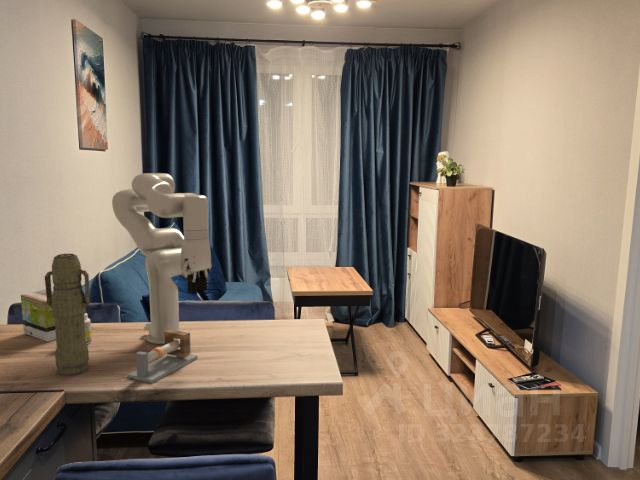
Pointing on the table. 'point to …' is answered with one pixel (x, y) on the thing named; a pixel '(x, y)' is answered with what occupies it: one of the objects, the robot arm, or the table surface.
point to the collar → (184, 342)
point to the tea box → (38, 316)
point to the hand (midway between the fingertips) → (197, 291)
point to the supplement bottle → (87, 329)
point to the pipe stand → (159, 362)
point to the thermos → (69, 313)
